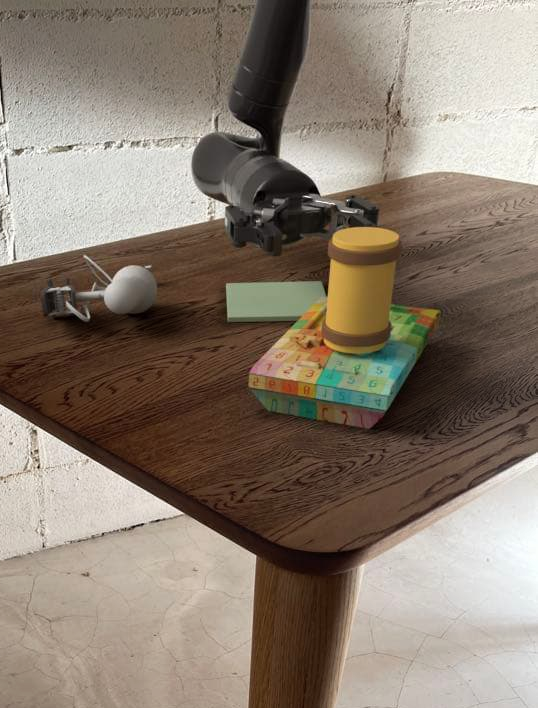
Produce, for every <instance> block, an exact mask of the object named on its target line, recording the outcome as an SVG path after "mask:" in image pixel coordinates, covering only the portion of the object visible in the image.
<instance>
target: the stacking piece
mask: <svg viewBox="0 0 538 708" xmlns="http://www.w3.org/2000/svg"><path fill="white" fill-rule="evenodd" d="M327 244H328V245H327V256H328V257H329V258H330V263H329V267H330V268H329V277H328V288H327V297H328V299H327V311H326V318H324V320H323V321H322V328H321V334H322V336H323V337H324V342H325V344H326V345H327V346H328V347H329V348H331V349H333V350H336V351H340V352H345V353H354V354H361V353H371V352H375V351H378V350H380V349H382V348H383V347H384V346H385V344H386V341H387V340H388V339H389V338H390V336H391V328H392V324H391V322H390V321H389V315H390V307H391V304H392V298H393V290H394V282H395V274H396V266H397V261H398V260H399V259H400V258H401V256H402V249H403V241H402V240H401V239H400V235H399V234H398V233H397V232H395V231H393V230H390V229H387V228H382V227H377V228H375V227H354V228H349V227H347V229H343V230H339V231H337V232H335V233H334V234H333V238H331V239H328V243H327Z"/></svg>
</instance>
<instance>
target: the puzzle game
mask: <svg viewBox="0 0 538 708" xmlns="http://www.w3.org/2000/svg"><path fill="white" fill-rule="evenodd" d="M327 299H328V296H327V295H326V296H321V297H320V298H319V299H318V300H317V302H316V303H315V304H314V305H313V306H312V307H311V308H310V309H309V310H308V311H307V312H306V313H305V314H304V315H303V316H302V317H301V318H300V319H299V320H298V321H295V323H294V324H293V325H292V326H291V327H290V328H289V329H288V330H287V331H286V332H285V333H284V334H283V335H282V336H281V338H279V339H278V340H277V341H276V342H275V343H274V344H273V345H272V346H271V347H270V348H269V349H268V350H267V351H266V353H264V355H262V357H260V359H258V361H257V362H256V363H255V364H254V365H253V366H252V367H251V369H250V371H249V372H248V376H247V387H248V389H249V390H250V392H252V394H253V395H254V397H256V399H257V400H258V401H259V402H260V403H261V405H262V406H263V407H264V408H265V409H266V410H267V412H273V413H278V414H284V415H289V416H295V417H300V418H306V419H312V420H317V421H322V422H329V423H333V424H339V425H345V426H350V427H356V428H357V427H358V428H362V429H366V430H367V429H368V430H370V429H371V428H372V427H374V425H376V423H378V422H379V421H380V420H381V419H382V418H383V417H384V415H385V414H386V413H387V411H388V409H389V408H390V406H391V404H392V403H393V401H394V400H395V398H396V396H397V394H398V393H399V391H400V389H401V388H402V386H403V384H404V383H405V382H406V380H407V378H408V376H409V374H410V373H411V371H412V369H413V368H414V367H415V364H416V363H417V361H418V359H419V357H420V356H421V354H422V353H423V351H424V350H425V348H426V346H427V344H428V343H429V341H430V340H431V337H433V334H434V332H435V331H436V329H437V328H438V326H439V324H440V320H441V313H442V311H441V310H440V309H432V308H425V307H416V306H415V307H414V306H409V305H401V304H400V305H399V304H392V303H391V307H390V315H389V321H390V322H391V324H392V328H391V336H390V338H389V339H388V340H387V341H386V344H385V346H384V347H383V348H382V349H380V350H378V351H375V352H371V353H361V354H354V353H345V352H340V351H336V350H333V349H331V348H329V347H328V346H327V345H326V344H325V342H324V337H323V336H322V334H321V328H322V321H323V320H324V318H326V311H327Z"/></svg>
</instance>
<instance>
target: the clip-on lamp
mask: <svg viewBox="0 0 538 708" xmlns="http://www.w3.org/2000/svg"><path fill="white" fill-rule="evenodd" d="M83 259H84V260H85V263H86V264H87V265H88V267H89V269H90V270H91V271H92V273H93V274H94V275H95V277H96V278H97V279H98V280H99V281H100V282H101V283H102V284H103V285H105V286H107V287H102V286H100V285H98V284H97V282H94V283H93V286H92V289H91V291H83V292H76V288H75V287H74V286H72V284H71V281H70V279H71V278H70V276H69V275H66V276H65V285H66V286H62V287H61V286H58V287H54V286H53V279H52V277H48V278H46V281H47V286H46V288H44V289H43V290H40V300H41V307H42V315H43V317H44V318H46V317H50V316H51V318H52V319H56V318H57V315H64V314H69V316H70V317H74V316H76V317H78V318H79V319H80V320H82V321H83V322H85V323H88V322H90V320H91V315H90V311H89V309H88V307H89V305H90V303H91V302H92V301H104V304H105V306H106V307H107V309H109V311H111V312H112V313H114V314H116V315H125V314H130V315H131V314H133V315H136V314H141V313H144V312H146V311H147V310H148V309H150V308H151V307H152V306H153V304H154V303H155V301H156V298H157V295H158V283H157V281H156V278H155V277H154V275H153V273H152V272H151V271H149V270H150V269H153V265H152V264H150V265H145V266H144V265H134V264H131V265H128V266H124V267H123V268H121V269H119V270H118V271H117V272H116V273H115V275H114V276H113V277H111V276H109V274H108V273H107V272H105V270H103V269H102V267H100V266H99V265H98V264H97V263H96V262H94V261H93V260H92V259H91V258H89V256H87V255H86V254H84V255H83ZM92 265H93V266H94V267H95V268H96V269H97V270H98V271H100V272H101V274H103V275H104V276H105V278H107V279H108V280H109V281H110V284H109V283H107V282H105V281H104V280H103V279H102V278H101V277H100V276H99V274H98V273H97V271H95V269H94V268H93V267H92ZM148 269H149V270H148ZM64 291H66V292H67V294H66V295H67V300H66V301H65V296H64V295H65V293H64ZM79 302H86V303H85V304H83V305H82V306H81V308H80V311H79V310H78V304H77V303H79ZM65 307H66V309H65ZM82 313H85V315H86V316H85V315H84V314H82Z"/></svg>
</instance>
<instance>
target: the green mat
mask: <svg viewBox="0 0 538 708" xmlns="http://www.w3.org/2000/svg"><path fill="white" fill-rule="evenodd" d="M225 293H226V311H227V313H226V315H227V323H257V322H258V323H264V322H297V321H298V320H299V319H300V318H301V317H302V316H303V315H304V314H305V313H306V312H307V311H308V310H309V309H310V308H311V307H312V306H313V305H314V304H315V303H316V302H317V300H318V299H319V298H320V297H321V296H326V297H327V293H326V291H325V287H324V285H323V282H322V281H321V280H316V281H313V280H311V281H310V280H309V281H308V280H307V281H269V282H266V281H265V282H264V281H263V282H229V283H228V282H226V284H225Z"/></svg>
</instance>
